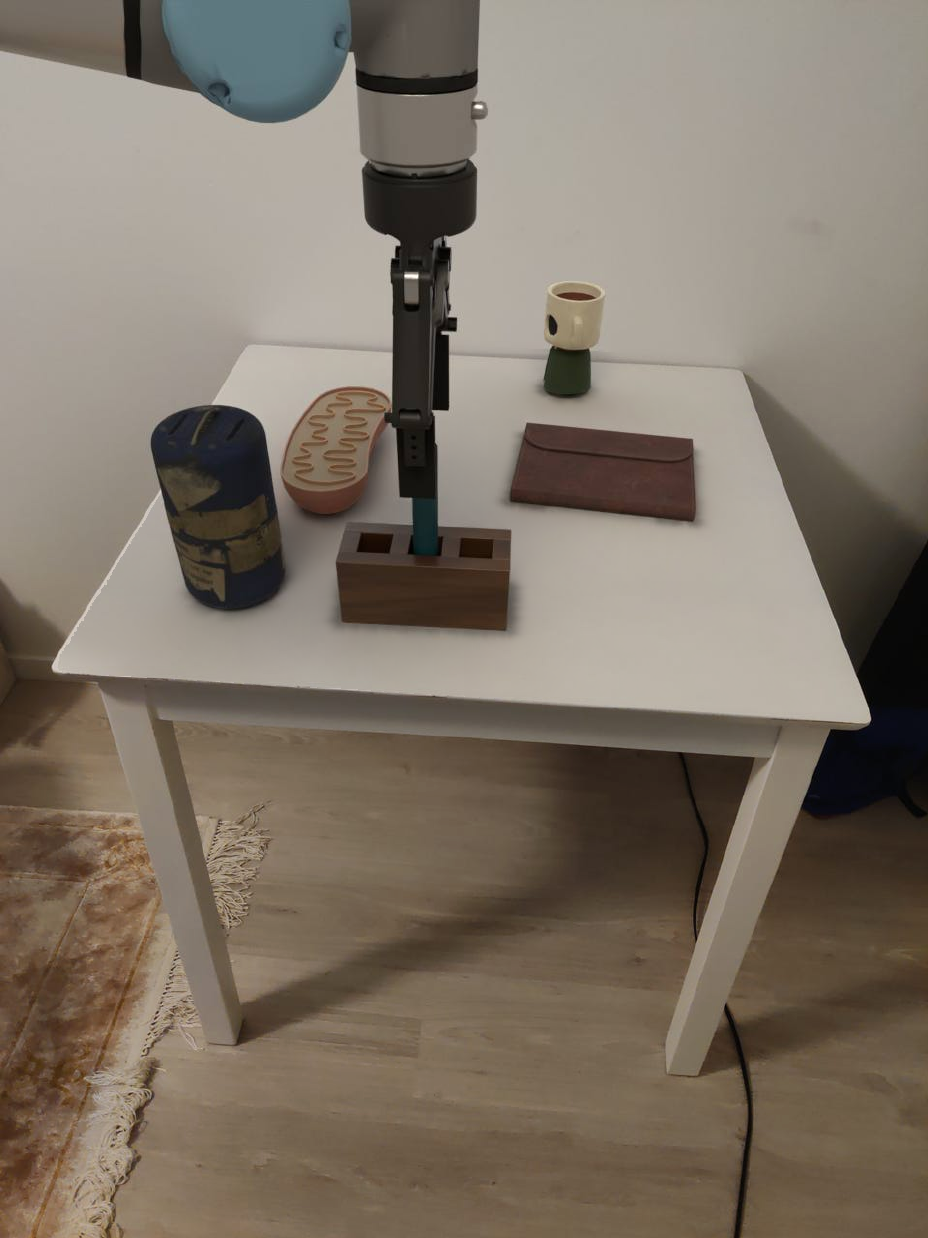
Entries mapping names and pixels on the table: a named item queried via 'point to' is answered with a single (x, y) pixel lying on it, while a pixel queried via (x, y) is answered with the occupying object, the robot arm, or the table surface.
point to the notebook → (606, 471)
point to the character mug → (571, 334)
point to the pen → (426, 522)
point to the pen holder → (424, 577)
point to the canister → (220, 504)
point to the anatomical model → (333, 448)
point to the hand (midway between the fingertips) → (426, 449)
